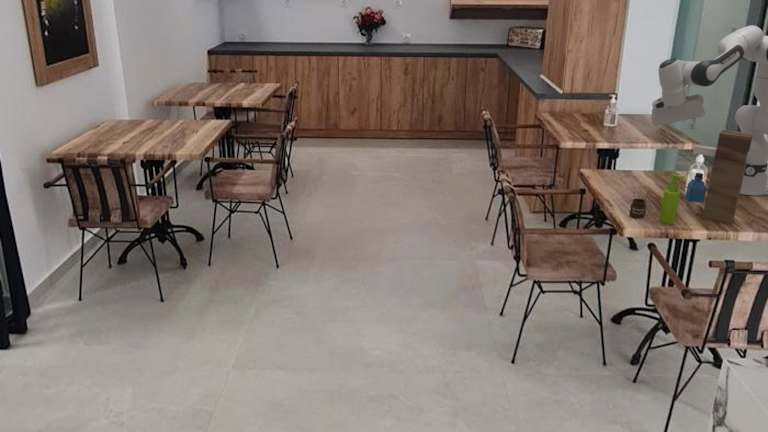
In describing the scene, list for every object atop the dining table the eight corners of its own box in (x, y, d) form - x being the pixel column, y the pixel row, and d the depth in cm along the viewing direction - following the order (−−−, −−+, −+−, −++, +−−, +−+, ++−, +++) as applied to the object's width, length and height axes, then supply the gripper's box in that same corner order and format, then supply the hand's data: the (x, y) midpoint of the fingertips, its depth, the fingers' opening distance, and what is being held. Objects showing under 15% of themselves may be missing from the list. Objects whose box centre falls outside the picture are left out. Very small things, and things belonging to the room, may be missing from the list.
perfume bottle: (703, 202, 290) (708, 176, 286) (688, 201, 291) (693, 175, 287) (700, 197, 296) (705, 172, 291) (685, 196, 297) (690, 171, 292)
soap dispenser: (674, 225, 263) (683, 178, 256) (656, 221, 267) (665, 174, 260) (679, 221, 267) (688, 175, 260) (661, 217, 271) (670, 171, 264)
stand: (705, 212, 278) (722, 129, 264) (734, 218, 272) (753, 133, 259) (702, 219, 271) (719, 133, 257) (731, 224, 265) (750, 137, 252)
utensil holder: (628, 213, 276) (632, 186, 271) (643, 214, 275) (648, 187, 270) (630, 218, 270) (634, 190, 266) (646, 219, 269) (651, 192, 265)
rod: (694, 151, 270) (695, 144, 269) (746, 159, 260) (748, 152, 259) (692, 153, 268) (694, 146, 267) (745, 161, 258) (747, 154, 257)
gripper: (701, 91, 268) (707, 123, 272) (648, 103, 276) (654, 134, 280) (703, 94, 262) (708, 127, 266) (648, 106, 271) (654, 138, 275)
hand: (680, 131), depth 273 cm, fingers open, 8 cm apart
